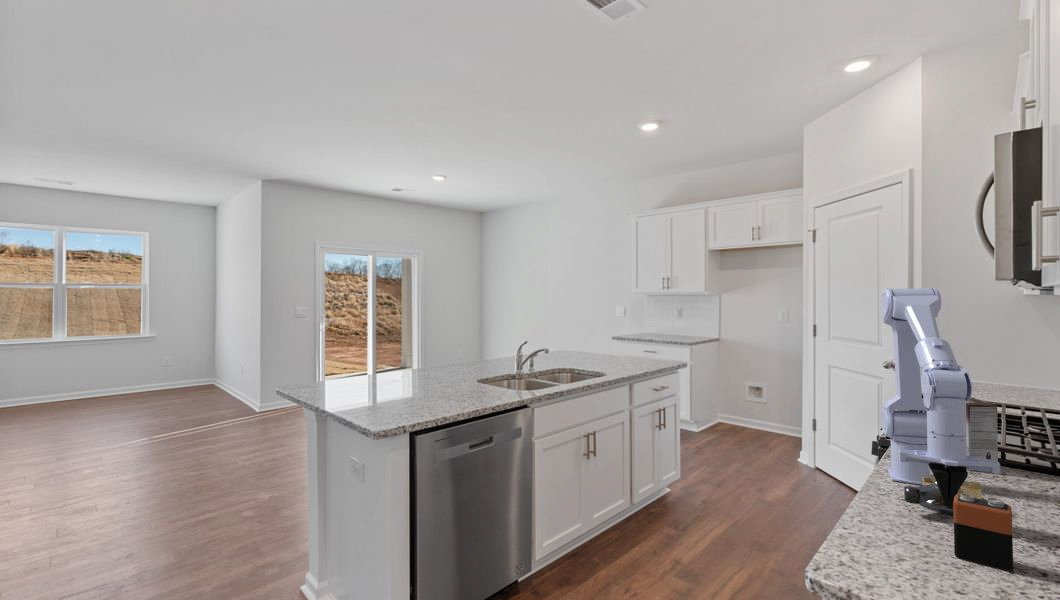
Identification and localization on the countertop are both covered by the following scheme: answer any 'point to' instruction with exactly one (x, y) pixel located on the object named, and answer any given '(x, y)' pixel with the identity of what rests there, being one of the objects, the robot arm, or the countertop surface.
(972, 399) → the coffee box
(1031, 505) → the countertop surface
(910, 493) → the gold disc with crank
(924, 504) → the mounting plate
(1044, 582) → the countertop surface
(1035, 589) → the countertop surface
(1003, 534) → the battery
